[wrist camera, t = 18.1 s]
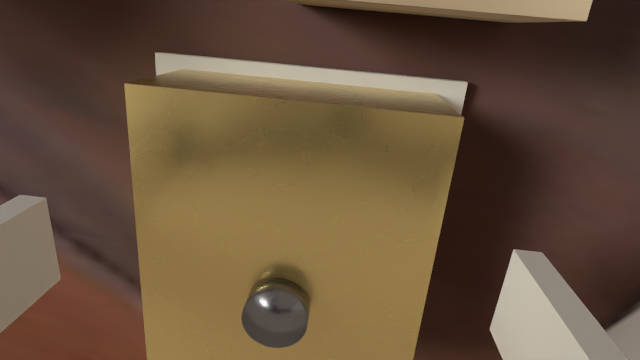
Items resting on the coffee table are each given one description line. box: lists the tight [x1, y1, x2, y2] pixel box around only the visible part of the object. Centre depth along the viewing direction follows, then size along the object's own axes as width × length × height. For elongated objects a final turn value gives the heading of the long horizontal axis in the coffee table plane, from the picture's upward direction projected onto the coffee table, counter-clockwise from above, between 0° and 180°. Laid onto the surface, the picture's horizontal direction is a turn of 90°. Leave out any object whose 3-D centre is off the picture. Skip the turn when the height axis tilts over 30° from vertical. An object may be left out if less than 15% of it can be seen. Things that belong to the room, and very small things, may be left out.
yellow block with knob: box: [124, 69, 465, 360], centre depth 14 cm, size 10×9×5 cm
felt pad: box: [155, 52, 468, 114], centre depth 16 cm, size 11×11×1 cm
